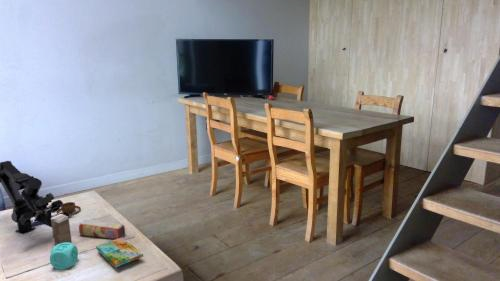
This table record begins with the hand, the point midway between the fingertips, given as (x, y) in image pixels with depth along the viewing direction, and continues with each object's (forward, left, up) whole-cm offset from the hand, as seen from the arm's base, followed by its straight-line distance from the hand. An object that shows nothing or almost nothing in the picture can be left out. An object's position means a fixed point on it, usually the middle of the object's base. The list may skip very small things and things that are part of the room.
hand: (52, 226), depth 178 cm
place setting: (-23, +22, -9) cm, 33 cm away
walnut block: (+6, 0, -8) cm, 10 cm away
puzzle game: (+36, +4, -9) cm, 37 cm away
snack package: (+14, +15, -9) cm, 22 cm away
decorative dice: (+20, -10, -8) cm, 24 cm away
